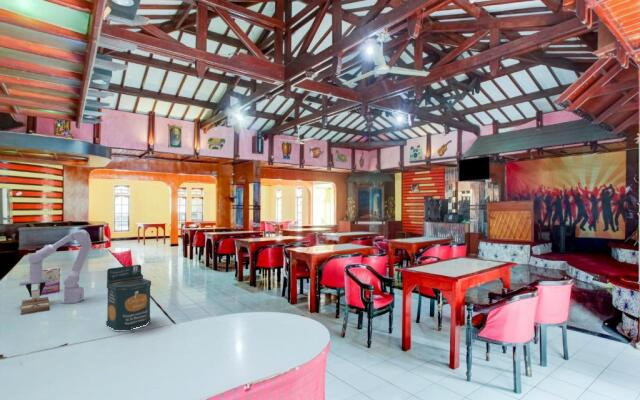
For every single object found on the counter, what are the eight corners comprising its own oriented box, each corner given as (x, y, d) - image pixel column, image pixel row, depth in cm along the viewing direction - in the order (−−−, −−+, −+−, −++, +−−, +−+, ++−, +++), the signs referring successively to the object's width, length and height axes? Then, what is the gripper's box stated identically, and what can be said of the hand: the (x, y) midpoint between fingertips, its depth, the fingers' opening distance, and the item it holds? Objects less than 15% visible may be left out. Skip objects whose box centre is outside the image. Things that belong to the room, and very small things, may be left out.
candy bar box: (57, 290, 232) (57, 267, 232) (59, 292, 229) (60, 267, 229) (36, 294, 223) (37, 269, 223) (39, 295, 220) (39, 270, 220)
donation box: (140, 317, 177) (141, 264, 177) (154, 324, 167) (155, 267, 167) (106, 325, 164) (106, 268, 165) (119, 333, 154) (119, 272, 155)
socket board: (49, 310, 189) (49, 305, 189) (21, 314, 181) (21, 310, 181) (48, 300, 207) (48, 296, 207) (22, 304, 199) (22, 300, 199)
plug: (39, 301, 198) (39, 290, 198) (31, 302, 196) (31, 291, 196) (39, 299, 201) (39, 289, 201) (31, 300, 199) (31, 290, 199)
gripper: (51, 270, 206) (51, 292, 206) (19, 273, 197) (19, 296, 197) (51, 272, 201) (51, 295, 201) (19, 275, 192) (19, 299, 191)
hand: (35, 296), depth 198 cm, fingers closed on plug, 4 cm apart
